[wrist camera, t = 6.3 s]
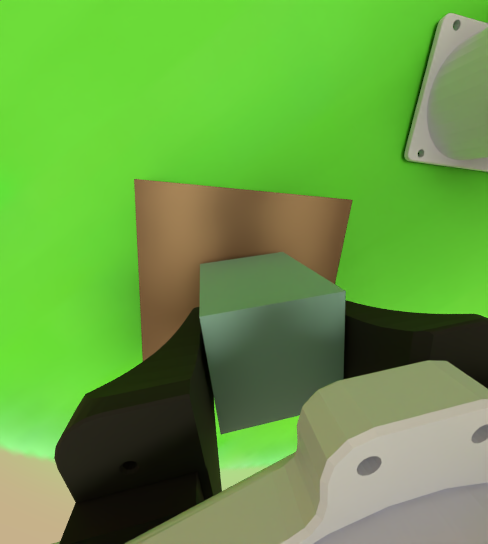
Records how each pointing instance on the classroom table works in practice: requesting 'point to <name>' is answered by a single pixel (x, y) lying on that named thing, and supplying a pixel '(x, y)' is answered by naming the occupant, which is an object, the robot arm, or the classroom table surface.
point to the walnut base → (221, 242)
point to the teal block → (269, 336)
